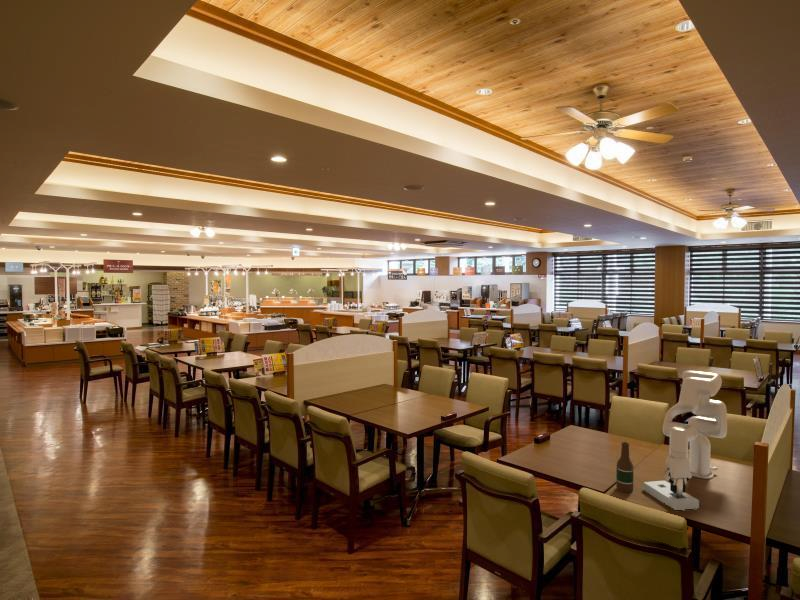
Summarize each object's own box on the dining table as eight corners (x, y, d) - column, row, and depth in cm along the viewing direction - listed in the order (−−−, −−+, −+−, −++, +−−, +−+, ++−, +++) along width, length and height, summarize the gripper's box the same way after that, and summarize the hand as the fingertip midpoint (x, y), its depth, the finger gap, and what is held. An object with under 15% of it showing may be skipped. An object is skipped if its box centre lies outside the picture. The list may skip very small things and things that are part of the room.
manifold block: (664, 488, 236) (664, 480, 236) (698, 508, 215) (699, 500, 214) (643, 489, 234) (643, 482, 234) (675, 511, 213) (675, 502, 213)
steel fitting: (678, 496, 222) (678, 475, 221) (684, 500, 218) (685, 479, 217) (670, 496, 221) (671, 476, 221) (677, 500, 217) (677, 479, 217)
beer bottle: (632, 494, 230) (633, 446, 229) (615, 490, 234) (615, 443, 233) (634, 488, 236) (634, 442, 235) (617, 484, 240) (617, 439, 239)
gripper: (688, 449, 224) (687, 487, 224) (657, 451, 221) (656, 489, 222) (700, 455, 216) (699, 494, 217) (668, 457, 214) (667, 496, 214)
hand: (677, 491), depth 219 cm, fingers closed on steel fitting, 4 cm apart
